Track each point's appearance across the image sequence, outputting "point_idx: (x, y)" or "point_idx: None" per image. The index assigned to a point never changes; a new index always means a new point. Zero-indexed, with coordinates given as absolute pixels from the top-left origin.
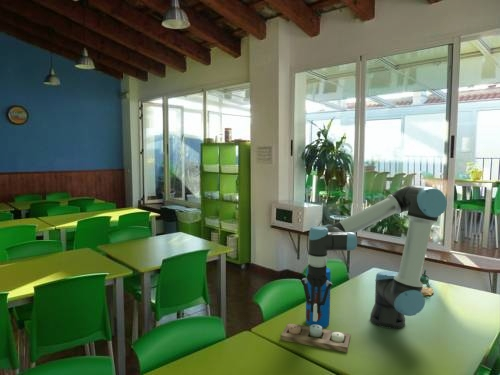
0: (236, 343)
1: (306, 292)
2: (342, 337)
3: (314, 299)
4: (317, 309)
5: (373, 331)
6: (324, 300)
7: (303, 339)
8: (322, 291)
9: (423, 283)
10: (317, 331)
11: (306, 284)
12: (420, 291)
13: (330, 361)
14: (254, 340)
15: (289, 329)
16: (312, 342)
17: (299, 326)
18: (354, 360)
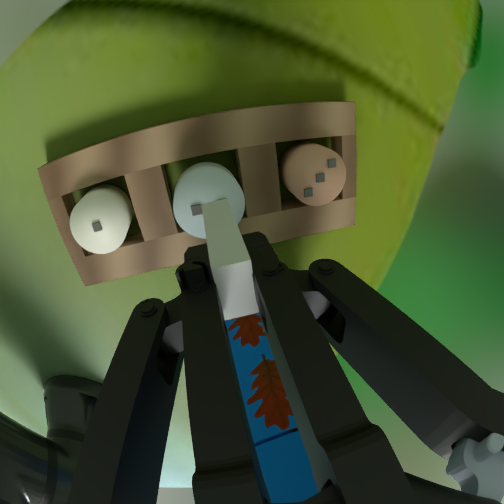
0: (443, 38)
1: (404, 339)
2: (70, 217)
3: (267, 330)
4: (207, 260)
5: (70, 348)
6: (128, 347)
7: (243, 109)
8: (258, 438)
9: None
10: (187, 176)
11: (454, 434)
12: None
13: (79, 50)
14: (415, 67)
15: (336, 154)
16: (194, 117)
17: (301, 199)
18: (11, 128)
